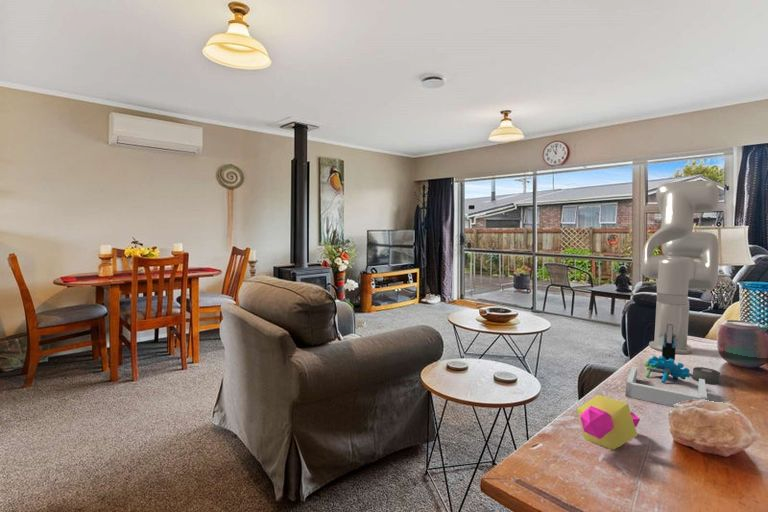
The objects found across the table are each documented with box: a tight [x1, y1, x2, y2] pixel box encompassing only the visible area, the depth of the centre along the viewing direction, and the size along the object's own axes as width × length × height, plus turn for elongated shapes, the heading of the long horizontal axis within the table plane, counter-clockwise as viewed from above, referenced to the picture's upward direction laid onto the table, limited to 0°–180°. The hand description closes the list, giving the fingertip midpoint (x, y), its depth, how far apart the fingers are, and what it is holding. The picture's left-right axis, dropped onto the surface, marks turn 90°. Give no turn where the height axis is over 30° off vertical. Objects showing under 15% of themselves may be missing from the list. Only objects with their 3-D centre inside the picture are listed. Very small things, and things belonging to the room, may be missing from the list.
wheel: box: [692, 366, 721, 386], centre depth 115 cm, size 6×6×3 cm
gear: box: [644, 355, 691, 384], centre depth 114 cm, size 11×6×10 cm
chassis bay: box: [625, 366, 708, 407], centre depth 105 cm, size 15×16×4 cm
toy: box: [576, 394, 641, 450], centre depth 82 cm, size 10×18×10 cm, turn 131°
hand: (668, 359), depth 122 cm, fingers closed
